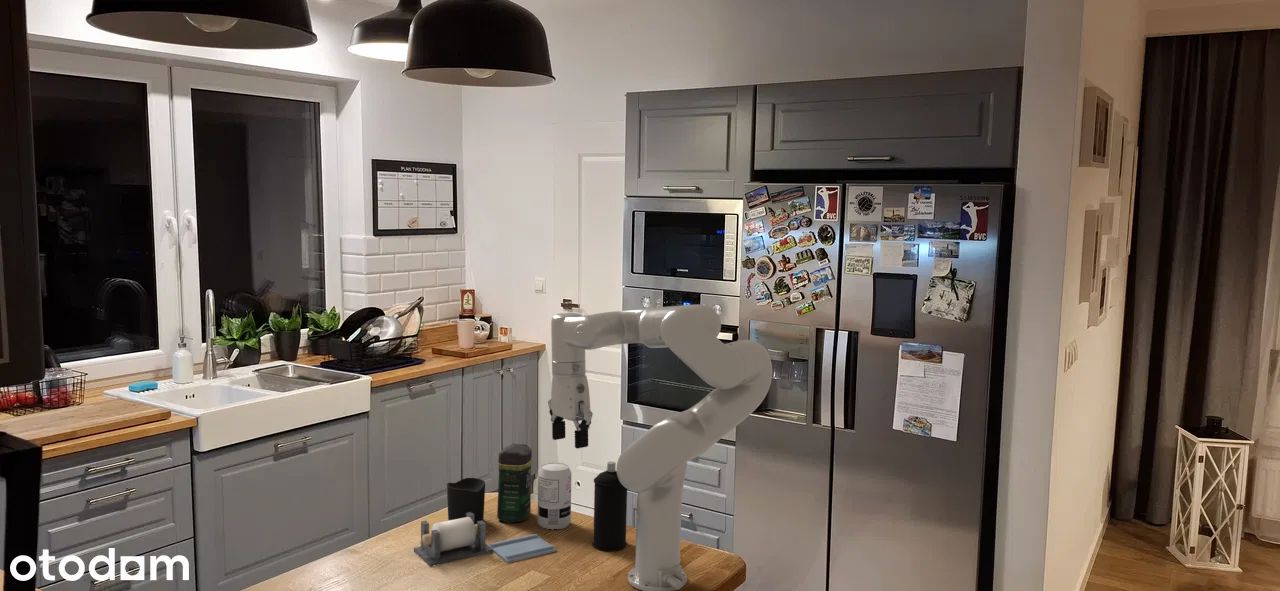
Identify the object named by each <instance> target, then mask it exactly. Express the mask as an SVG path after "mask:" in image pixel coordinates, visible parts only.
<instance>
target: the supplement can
mask: <svg viewBox="0 0 1280 591" xmlns="http://www.w3.org/2000/svg"><path fill="white" fill-rule="evenodd" d="M537 474H538V475H537V476H538V477H537V525H538V526H540V528H542V527H543V528H542V529H544V528H546V529H545V530H548V529H551V530H550V531H555V530H554V529H557V530H556V531H559V530H564V529H566V528H567V527H568V526H569V525H570V524H571V522H572V521H571V519H572V510H571V509H572V471H571V468H570V466H569V464H566V463H563V462H548V463H544V464H541V466H540V469H539V470H538V473H537ZM558 529H559V530H558Z"/></svg>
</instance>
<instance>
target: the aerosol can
mask: <svg viewBox="0 0 1280 591" xmlns="http://www.w3.org/2000/svg"><path fill="white" fill-rule="evenodd" d="M606 465H607V466H606V470H605V471H602V472H599V474H597V476H595V477H594V479H593V482H594V494H593V495H594V496H593V501H594V503H593V541H592V546H593V548H594V549H596V550H598V551H602V552H618V551H621V550H624V549H625V548H626V547H627V544H628V542H627V516H628V515H627V514H628V513H627V511H628V510H627V509H628V506H627V505H628V489H627V488H625V487H624V486H623V485H622V484H621V483H620V481H619V479H618V476H617V470H616V468H617V462H615V461H607V463H606Z"/></svg>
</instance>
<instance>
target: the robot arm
mask: <svg viewBox="0 0 1280 591" xmlns="http://www.w3.org/2000/svg"><path fill="white" fill-rule="evenodd" d="M550 324H551V328H550V329H551V330H550V331H551V334H550V335H551V337H550V338H551V372H552V373H551V375H552V378H551V380H552V381H551V394H550V395H551V396H550V399H549V400H548V401H547V405H548V409H549V412H548V413H549V415H550V422H551V430H552V431H551V433H552V434H551V436H552V440H553V441H557V440H562V439H565V438H566V421H565V420H568V421H569V422H570V421H572V422H573V424H574V427H575V430H574V448H575V449H583V448H588V447H589V430H590V426H591V424H592V418H593V415H594V414H593V411H591V397H590V388H589V382H588V377H587V375H586V374H587V373H586V371H587V370H586V367H587V366H586V351H590V350H592V351H593V350H597V349H601V348H605V347H611V346H615V345H625V344H643V345H644V346H646V347H647V348H650V349H658V348H659V349H660V348H661V349H664V348H669V349H670V350H671V352H672V353H674V354H675V356H677V358H678V359H680V360H681V361H682V362H683V363H684V364H685V365H686V366H687V367H688V368H689V369H691V371H693V372H694V373H695V374H696V375H697V376H698V377H699V378H700V379H701V380H702V381H703V382H705V383H706V384H708V385H709V386H711V387H713V388H714V389H712V391H709V393H708V394H707V395H706V396H704V397H703V398H702V399H700V400H699V402H697V403H696V404H695V405H693V406H691V407H690V408H688V409H686V410H683V411H681V412H678V413H674V414H672V415H670V416H667V417H666V418H663V419H662V420H660V421H658V422H657V423H655V424H654V425H652V426H651V427H650V428H649V429H648V430H647V431H646V432H644V433H643V434H642V435H640V436H639V437H638V438H636V440H635V441H633V442H632V443H631V444H629V445H628V446H627V447H626V448H625V449H624V450H623V451H622V452H621V453H620V455H619V457H618V459H617V462H616V471H617V476H618V479H619V481H620V483H621V484H622V485H623V486H624V487H625V488H627V491H630V492H634V493H637V500H636V526H635V527H636V529H635V530H636V531H635V563H634V564H635V565H634V566H635V567H632V568H631V569H630V570H629V572H628V574H627V582H628V583H629V585H631V586H632V587H633V588H635V589H637V590H639V591H677V590H680V589H682V588H683V587H684V586H685V585H686V584H687V582H688V578H687V574H686V573H685V572H684V571H683V565H681V564H680V563H681V537H682V536H681V535H682V534H681V533H682V532H681V531H682V510H683V509H682V507H683V506H682V504H683V492H684V491H683V490H684V483H685V479H686V473H687V466H688V462H689V461H691V460H694V459H697V457H699V456H702V455H703V454H705V453H706V452H708V450H710V449H711V448H712V447H713V446H714V445H716V443H717V442H719V441H720V440H721V439H722V438H724V437H725V436H727V434H729V433H730V432H732V431H733V430H734V429H736V427H737V426H738V425H739V424H741V423H742V422H743V421H745V420H746V419H747V418H748V417H749V416H750V415H752V413H754V411H756V410H757V408H758V407H759V406H760V405H761V404H762V403H763V401H764V400H765V398H766V396H767V394H768V392H769V390H770V387H771V384H772V379H773V364H772V360H771V356H770V354H769V352H768V350H767V349H766V348H765V347H764V346H763V345H762V344H761V343H760V342H757V341H754V340H750V339H741V340H736V341H731V342H727V343H724V342H722V341H721V340H720V339H719V338H718V336H719V334H720V332H721V328H722V322H721V318H720V316H719V314H718V312H717V311H716V310H715V309H714V308H712V307H710V306H708V305H705V304H687V305H685V304H684V305H671V306H662V307H661V306H658V307H646V308H644V309H636V310H635V309H632V310H629V309H628V310H616V311H608V312H607V311H605V312H599V313H595V314H594V313H593V314H588V315H587V314H586V315H582V314H580V313H574V312H562V313H557V314H554V315H553V316H552V317H551V322H550ZM564 419H565V420H564ZM580 421H581V422H580Z"/></svg>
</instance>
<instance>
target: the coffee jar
mask: <svg viewBox="0 0 1280 591" xmlns="http://www.w3.org/2000/svg"><path fill="white" fill-rule="evenodd" d="M532 452H533V451H532V449H531V447H530V446H528V444H523V443H511V444H510V445H508V446H506V447H505V448H503V449H501V451H500V452H498V461H497V462H498V463H497V465H498V483H497V484H498V487H497V508H496V509H497V514H496V517H497V519H498V520H500V521H502V522H506V523H517V522H518V523H519V522H524V521H525V520H526V519H527V518H528V517H529V516H530V514H531V509H532V508H531V507H532V506H531V504H532V502H531V500H532V499H531V497H532V496H531V494H532V493H531V491H532V490H531V487H532V486H531V485H532V484H531V483H532V482H531V480H532V478H531V477H532V462H533V461H532V460H533V459H532V458H533V457H532V455H533V454H532Z"/></svg>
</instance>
